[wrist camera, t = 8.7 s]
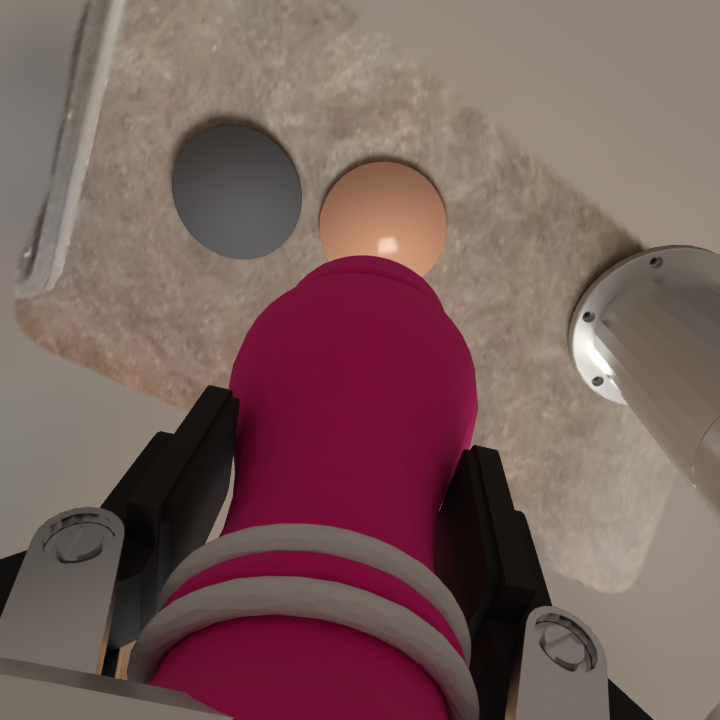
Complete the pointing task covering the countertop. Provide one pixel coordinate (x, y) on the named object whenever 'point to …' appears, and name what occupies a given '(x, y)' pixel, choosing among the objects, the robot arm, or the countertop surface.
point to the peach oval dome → (384, 216)
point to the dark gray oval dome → (236, 191)
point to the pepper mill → (331, 515)
